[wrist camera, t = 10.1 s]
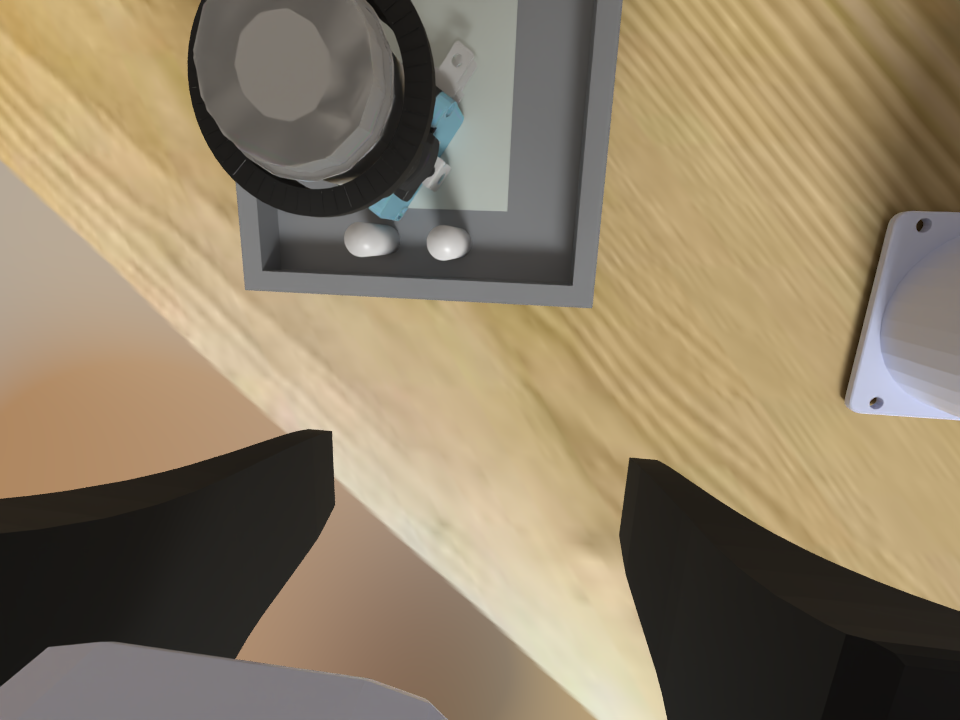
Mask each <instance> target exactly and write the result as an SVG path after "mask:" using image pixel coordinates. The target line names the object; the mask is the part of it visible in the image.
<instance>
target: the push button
mask: <svg viewBox="0 0 960 720" xmlns="http://www.w3.org/2000/svg"><path fill="white" fill-rule="evenodd" d="M380 20H381V21H383V22H384V23H385V24H387V25H388V26H389V27H390V28H391V29H392V30H393V32H394V34H395V37H396V40H397V43H398V46H399V49H400V53H401V57H402V62H403V63H402V64H401V62H400V61H399V60H398V58H397V57H396V56H395V55H394V53H393V52H392V51H391V49H390V46H389V43H388V41H387V38H386V35H385V33H384V30H383V27H382V24H381V22H380ZM455 55H458V56H457V57H456V59H455V60H454V62H453V64H452V59H453V57H454V56H455ZM473 58H474V54H473V52H472V51H470V50H469V49H468V48H467V47H465V46H464V45H463V44H462V43H460V42H459V41H457V42H455V43H454V45H453V47H452V48H451V50H450V51H449V53H448V55H447V56H446V58H445V60H444V61H443V63H442V64H441V66H440V68H439V69H438V68H437V67H436V66H435V67H434V61H433V55H432V51H431V47H430V43H429V40H428V37H427V34H426V31H425V28H424V26H423V24H422V21H421V19H420V17H419V15H418V13H417V11H416V9H415V7H414V5H413V3H412V1H411V0H201V2H200V5H199V7H198V10H197V13H196V16H195V18H194V22H193V26H192V30H191V35H190V41H189V49H188V81H189V90H190V95H191V100H192V105H193V109H194V112H195V116H196V119H197V122H198V124H199V127H200V129H201V132H202V134H203V136H204V138H205V140H206V142H207V144H208V146H209V148H210V150H211V151H212V153H213V154H214V156H215V158H216V159H217V160H218V162H219V163H220V165H221V166H222V167H223V169H224V170H225V171H226V172H227V173H228V174H229V175H230V176H231V178H232V179H233V180H234V181H235V182H237V183H238V184H239V185H240V186H241V187H242V188H243V189H244V190H246V191H247V192H248V193H250V194H251V195H252V196H254V197H255V198H257V199H259V200H260V201H262V202H263V203H265V204H268V205H270V206H272V207H274V208H276V209H279V210H282V211H285V212H287V213H292V214H296V215H301V216H310V217H338V216H344V215H348V214H353V213H355V212H358V211H361V210H364V209H366V208H368V209H369V210H371V211H372V212H373V213H375V214H376V215H377V216H379V217H380V218H383V219H389V220H394V221H399V220H400V219H401V218H402V217H403V215H404V214H405V212H406V211H407V209H408V206H409V205H410V203H411V202H412V200H413V198H414V197H415V195H416V194H417V192H418V191H419V189H420V188H421V186H422V185H425V186H426V187H427V188H429V189H431V190H433V191H435V192H436V191H437V190H438V189H439V187H440V186H441V184H442V183H443V181H444V180H445V178H446V177H447V175H448V174H449V172H450V170H451V167H450V166H448V165H447V164H446V163H445V162H444V161H443V160H441V159H440V157H441V155H442V154H443V152H444V151H445V149H446V148H447V146H448V145H449V143H450V142H451V140H452V139H453V137H454V135H455V134H456V132H457V131H458V129H459V128H460V126H461V124H462V123H463V120H464V116H463V114H462V112H461V110H460V109H459V107H458V104H459V102H460V101H461V99H462V97H463V96H464V94H463V93H462V92H461V91H462V90H463V88H464V87H465V85H466V84H467V82H468V80H469V79H470V77H471V76H472V74H473V73H474V71H475V69H476V68H477V63H476V62H475V61H474V60H473ZM461 64H462V65H461ZM459 65H461V66H460V67H458V66H459ZM466 69H467V72H466V74H465V75H464V76H463V74H464V72H465V71H466ZM442 175H443V176H442ZM441 176H442V178H441V179H440V177H441ZM439 179H440V181H439ZM296 180H299V181H305V182H316V181H320V180H324V181H327V182H330V183H334V184H337V185H338V186H335V187H331V188H324V189H310V188H308V187H306V186H304V185H303V184H301V183H299V182H298V181H296ZM438 181H439V182H438Z"/></svg>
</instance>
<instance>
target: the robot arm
mask: <svg viewBox="0 0 960 720" xmlns="http://www.w3.org/2000/svg"><path fill="white" fill-rule="evenodd" d="M919 220H922V221H923V227H922V229H921V230H920V231H919V232H918V231H917V229H916V224H917V223H918V221H919ZM874 397H877V401H876V402H875V404H873V405H871V406H870V401H871V399H873V398H874ZM845 404H846V406H847V407H848V408H849V409H850V410H852V411H854V412H857V413H863V414H878V415H892V416H906V417H920V418H935V419H949V420H960V212H931V211H905V212H900V213H898V214H896V215H894V216H893V217H892V218H891V219H890V222H889V224H888V227H887V231H886V235H885V239H884V243H883V247H882V251H881V255H880V259H879V263H878V267H877V271H876V275H875V279H874V283H873V287H872V291H871V295H870V299H869V304H868V308H867V312H866V316H865V320H864V324H863V328H862V332H861V336H860V340H859V344H858V348H857V352H856V356H855V360H854V364H853V368H852V372H851V376H850V380H849V384H848V388H847V392H846V396H845ZM334 506H335V492H334V469H333V445H332V431H324V430H312V429H307V430H301V431H296V432H292V433H289V434H285V435H282V436H279V437H276V438H273V439H270V440H267V441H264V442H261V443H258V444H255V445H252V446H249V447H246V448H243V449H240V450H237V451H234V452H231V453H228V454H224V455H221V456H218V457H214V458H211V459H208V460H204V461H202V462H198V463H195V464H192V465H188V466H184V467H181V468H178V469H173V470H169V471H166V472H162V473H157V474H153V475H149V476H145V477H140V478H136V479H131V480H127V481H121V482H115V483H110V484H104V485H98V486H92V487H86V488H81V489H75V490H70V491H63V492H55V493H48V494H40V495H32V496H23V497H14V498H4V499H0V720H448V719H447V718H446V717H444V715H443V714H442V713H440V712H439V711H438V710H437V709H436V708H435V707H434V706H433V705H432V704H431V703H430V702H429V701H428V700H427V699H425V698H422V697H419V696H417V695H414V694H411V693H408V692H405V691H403V690H400V689H397V688H394V687H392V686H389V685H386V684H383V683H381V682H378V681H375V680H372V679H369V678H362V677H355V676H348V675H341V674H333V673H327V672H320V671H314V670H306V669H299V668H292V667H286V666H279V665H271V664H265V663H258V662H251V661H244V660H237V659H235V658H236V657H237V655H238V653H239V651H240V650H241V648H242V646H243V645H244V643H245V641H246V640H247V638H248V636H249V635H250V633H251V632H252V630H253V629H254V627H255V626H256V624H257V623H258V621H259V620H260V618H261V617H262V615H263V614H264V613H265V611H266V610H267V608H268V607H269V606H270V604H271V603H272V602H273V600H274V599H275V597H276V596H277V595H278V593H279V592H280V591H281V589H282V588H283V586H284V585H285V584H286V582H287V581H288V579H289V578H290V577H291V575H292V574H293V573H294V571H295V570H296V569H297V567H298V566H299V564H300V563H301V562H302V560H303V559H304V557H305V556H306V554H307V553H308V552H309V550H310V549H311V547H312V546H313V545H314V543H315V542H316V540H317V539H318V537H319V535H320V533H321V531H322V530H323V528H324V526H325V524H326V522H327V520H328V518H329V516H330V514H331V512H332V510H333V508H334ZM619 537H620V543H621V550H622V556H623V562H624V567H625V573H626V577H627V580H628V583H629V587H630V590H631V593H632V596H633V600H634V603H635V606H636V609H637V613H638V616H639V619H640V622H641V625H642V628H643V632H644V635H645V638H646V641H647V644H648V647H649V651H650V654H651V657H652V660H653V663H654V666H655V670H656V673H657V677H658V681H659V684H660V688H661V692H662V696H663V701H664V706H665V710H666V715H667V720H960V611H957V610H954V609H951V608H948V607H946V606H943V605H940V604H937V603H934V602H931V601H928V600H926V599H923V598H920V597H917V596H914V595H911V594H909V593H906V592H904V591H901V590H898V589H896V588H893V587H890V586H888V585H885V584H883V583H880V582H878V581H875V580H873V579H870V578H868V577H866V576H863V575H861V574H858V573H856V572H854V571H851V570H849V569H847V568H844V567H842V566H840V565H837V564H835V563H833V562H830V561H828V560H826V559H824V558H822V557H820V556H817V555H815V554H813V553H811V552H809V551H807V550H805V549H803V548H801V547H799V546H797V545H795V544H793V543H791V542H789V541H787V540H785V539H783V538H782V537H780V536H778V535H776V534H774V533H772V532H770V531H768V530H767V529H765V528H763V527H761V526H760V525H758V524H756V523H755V522H753V521H751V520H750V519H748V518H746V517H745V516H743V515H741V514H740V513H738V512H736V511H735V510H733V509H731V508H730V507H728V506H727V505H725V504H724V503H722V502H720V501H719V500H717V499H716V498H714V497H713V496H711V495H710V494H708V493H707V492H705V491H704V490H702V489H701V488H700V487H698V486H697V485H695V484H694V483H692V482H691V481H689V480H688V479H686V478H685V477H684V476H682V475H681V474H679V473H678V472H676V471H675V470H673V469H672V468H670V467H669V466H667V465H665V464H664V463H662V462H660V461H658V460H651V459H639V458H629V466H628V473H627V481H626V488H625V496H624V503H623V510H622V518H621V525H620V533H619Z"/></svg>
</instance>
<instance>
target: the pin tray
mask: <svg viewBox="0 0 960 720" xmlns="http://www.w3.org/2000/svg"><path fill="white" fill-rule="evenodd" d="M411 1H412V3H413V5H414V7H415V9H416V11H417V13H418V15H419V17H420V19H421V21H422V24H423V26H424V28H425V31H426V34H427V37H428V40H429V43H430V47H431V51H432V55H433V61H434V67H435V66H436V67H437V68H438V69H439V68H440V66H441V64H442V63H443V61H444V60H445V58H446V56H447V55H448V53H449V51H450V50H451V48H452V47H453V45H454V43H455V42H457V41H459V42H460V43H462V44H463V45H464V46H465V47H467V48H468V49H469V50H470V51H472V52H473V54H474V58H473V60H474V61H475V62H476V63H477V68H476V69H475V71H474V73H473V74H472V76H471V77H470V79H469V80H468V82H467V84H466V85H465V87H464V88H463V90H462V91H461V92H462V93H463V94H464V96H463V97H462V99H461V101H460V102H459V104H458V107H459V109H460V110H461V112H462V114H463V116H464V120H463V123H462V124H461V126H460V128H459V129H458V131H457V132H456V134H455V135H454V137H453V139H452V140H451V142H450V143H449V145H448V146H447V148H446V149H445V151H444V152H443V154H442V155H441V157H440V159H441V160H443V161H444V162H445V163H446V164H447V165H448V166H450V167H451V170H450V172H449V174H448V175H447V177H446V178H445V180H444V181H443V183H442V184H441V186H440V187H439V189H438V190H437V191H436V192H435V191H433V190H431V189H429V188H427V187H426V186H425V185H422V186H421V188H420V189H419V191H418V192H417V194H416V195H415V197H414V198H413V200H412V202H411V203H410V205H409V206H408V209H407V211H406V212H405V214H404V215H403V217H402V218H401V219H400V220H399V221H394V220H389V219H383V218H380V217H379V216H377V215H376V214H375V213H373V212H372V211H371V210H369V209H368V208H366V209H364V210H361V211H358V212H355V213H353V214H348V215H344V216H338V217H310V216H301V215H296V214H292V213H287V212H285V211H282V210H279V209H276V208H274V207H272V206H270V205H268V204H265V203H263V202H262V201H260V200H259V199H257V198H255V197H254V196H252V195H251V194H250V193H248V192H247V191H246V190H244V189H243V188H242V187H241V186H240V185H239V184H238V183H237V182H236V191H237V203H238V214H239V225H240V236H241V248H242V259H243V270H244V282H245V290H254V291H273V292H293V293H312V294H331V295H350V296H369V297H388V298H407V299H426V300H445V301H465V302H484V303H503V304H522V305H541V306H560V307H579V308H592V305H593V295H594V285H595V274H596V264H597V254H598V244H599V234H600V224H601V214H602V204H603V194H604V183H605V173H606V163H607V153H608V143H609V133H610V123H611V113H612V103H613V92H614V82H615V72H616V62H617V52H618V42H619V32H620V22H621V11H622V1H623V0H411ZM380 22H381V24H382V27H383V30H384V33H385V35H386V38H387V41H388V43H389V46H390V49H391V51H392V52H393V53H394V55H395V56H396V57H397V58H398V60H399V61H400V62H401V64H402V63H403V62H402V57H401V53H400V49H399V46H398V43H397V40H396V37H395V34H394V32H393V30H392V29H391V28H390V27H389V26H388V25H387V24H385V23H384V22H383V21H381V20H380ZM457 56H458V55H455V56H454V57H453V59H452V64H453V62H454V60H455V59H456V57H457ZM461 65H462V64H461ZM461 65H459V66H458V67H460V66H461ZM466 72H467V69H466V71H465V72H464V74H463V76H464V75H465V74H466ZM442 176H443V175H442ZM442 176H441V177H440V179H441V178H442ZM440 179H439V181H440ZM296 181H298V182H299V183H301V184H303V185H304V186H306V187H308V188H310V189H324V188H331V187H335V186H338V185H337V184H334V183H330V182H327V181H324V180H320V181H316V182H305V181H299V180H296ZM439 181H438V182H439Z"/></svg>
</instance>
